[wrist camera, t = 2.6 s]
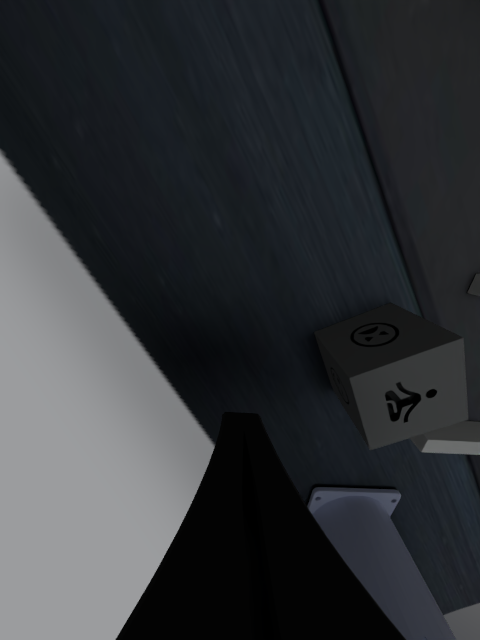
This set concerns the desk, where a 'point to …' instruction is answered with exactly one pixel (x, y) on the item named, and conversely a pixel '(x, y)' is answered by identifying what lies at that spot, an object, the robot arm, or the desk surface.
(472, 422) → the grey angular bar shape
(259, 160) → the desk surface
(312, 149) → the desk surface
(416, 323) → the dice cube
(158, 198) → the desk surface
